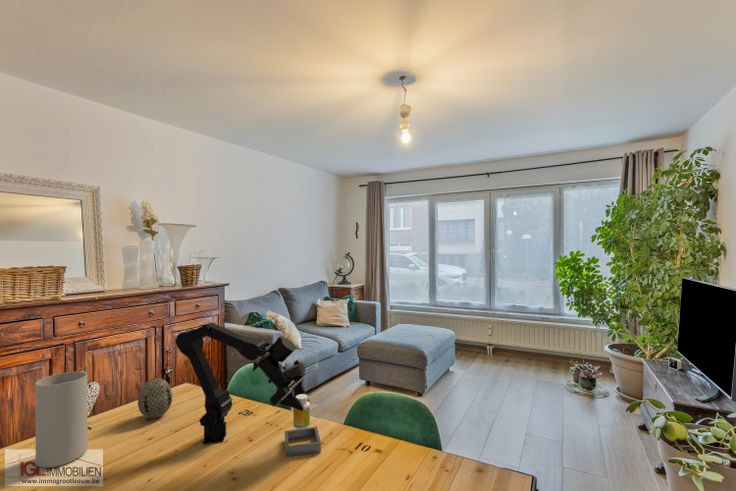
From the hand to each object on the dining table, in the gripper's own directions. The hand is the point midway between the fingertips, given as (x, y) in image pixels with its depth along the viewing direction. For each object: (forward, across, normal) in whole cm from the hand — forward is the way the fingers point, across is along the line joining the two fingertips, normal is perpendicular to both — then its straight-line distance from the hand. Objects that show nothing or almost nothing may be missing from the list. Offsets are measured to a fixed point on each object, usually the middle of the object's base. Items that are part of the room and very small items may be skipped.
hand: (305, 406), depth 119 cm
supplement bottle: (+4, 0, +6) cm, 7 cm away
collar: (+9, 0, +10) cm, 13 cm away
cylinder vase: (-42, -17, +63) cm, 78 cm away
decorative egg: (-36, +12, +56) cm, 68 cm away
